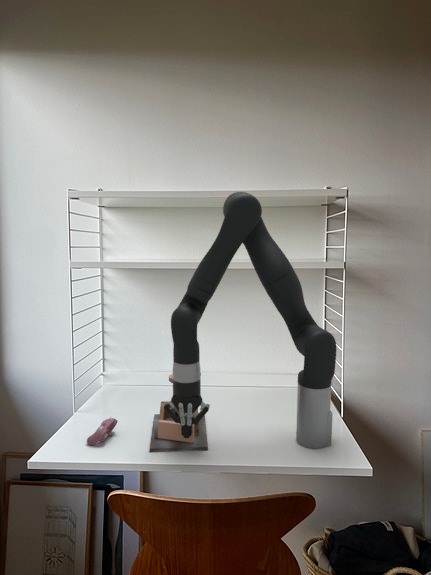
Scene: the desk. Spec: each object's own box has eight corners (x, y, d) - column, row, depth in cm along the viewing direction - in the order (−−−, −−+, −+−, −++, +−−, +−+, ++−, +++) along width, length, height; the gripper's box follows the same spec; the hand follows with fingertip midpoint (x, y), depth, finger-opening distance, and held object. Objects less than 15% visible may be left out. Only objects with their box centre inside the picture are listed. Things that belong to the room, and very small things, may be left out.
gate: (194, 440, 135) (194, 423, 134) (192, 443, 133) (192, 426, 132) (155, 435, 138) (155, 418, 137) (153, 437, 136) (152, 421, 135)
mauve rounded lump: (97, 452, 134) (107, 432, 132) (84, 443, 135) (93, 424, 133) (113, 436, 143) (122, 417, 142) (101, 428, 144) (109, 409, 142)
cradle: (204, 415, 154) (204, 398, 153) (208, 450, 132) (207, 429, 131) (154, 417, 153) (153, 399, 152) (149, 452, 131) (149, 431, 130)
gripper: (159, 380, 127) (160, 441, 129) (208, 382, 125) (208, 445, 128) (166, 371, 134) (166, 429, 137) (212, 373, 132) (212, 432, 135)
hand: (187, 436), depth 132 cm, fingers closed
